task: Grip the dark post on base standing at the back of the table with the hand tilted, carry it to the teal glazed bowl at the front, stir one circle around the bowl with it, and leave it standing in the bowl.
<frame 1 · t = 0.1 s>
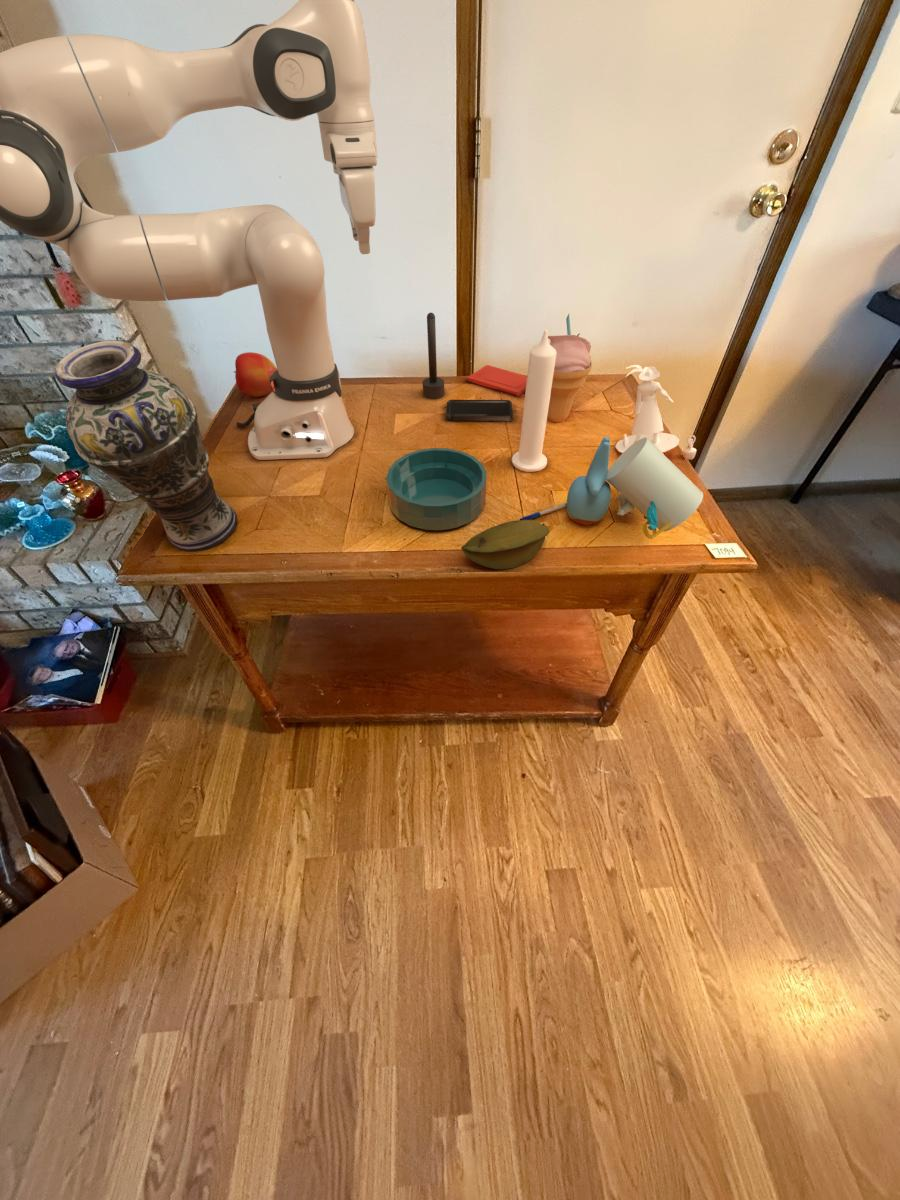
hand: (361, 246, 91), 32 cm above the table, tool pointing down, fingers open, 8 cm apart
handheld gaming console: (528, 387, 120), point 1 cm above the table
figurine: (654, 463, 102), on the table
candle: (529, 463, 100), on the table
bowl: (437, 502, 91), on the table
pale green cylinder: (618, 463, 82), point 10 cm above the table, touching toy
apple: (279, 377, 120), point 3 cm above the table
dark post on base: (433, 394, 120), on the table
fruit: (506, 556, 82), on the table
vase: (202, 527, 87), on the table
ice cream cone: (556, 418, 112), on the table
toy: (607, 439, 77), point 15 cm above the table, touching pale green cylinder
phone: (479, 413, 114), on the table
ballpoint pen: (544, 509, 88), point 1 cm above the table
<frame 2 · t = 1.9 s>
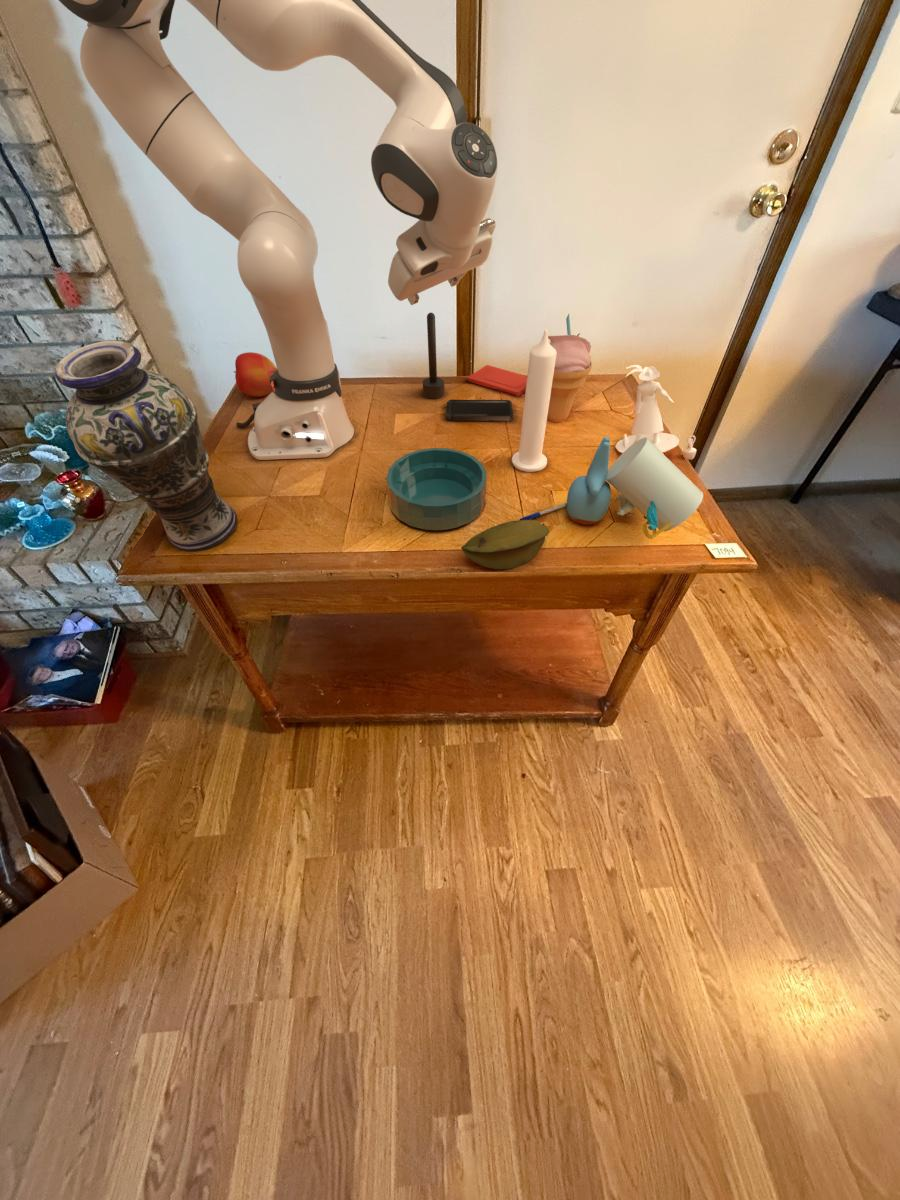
hand: (432, 291, 96), 24 cm above the table, tool tilted 40°, fingers open, 8 cm apart
nothing on the table moved.
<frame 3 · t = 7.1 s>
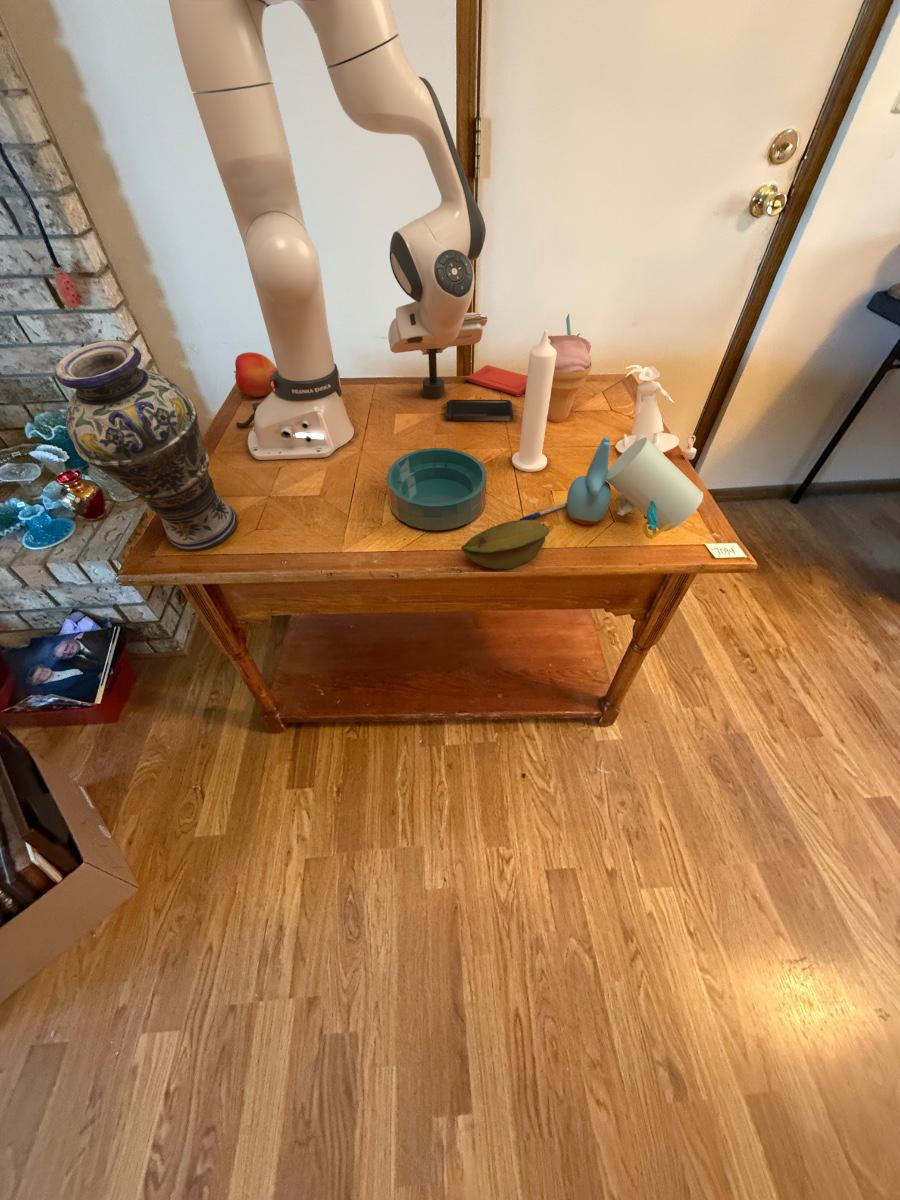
hand: (431, 350, 113), 10 cm above the table, tool tilted 45°, fingers closed on dark post on base
dark post on base: (433, 394, 120), on the table, touching gripper
everything else where it was.
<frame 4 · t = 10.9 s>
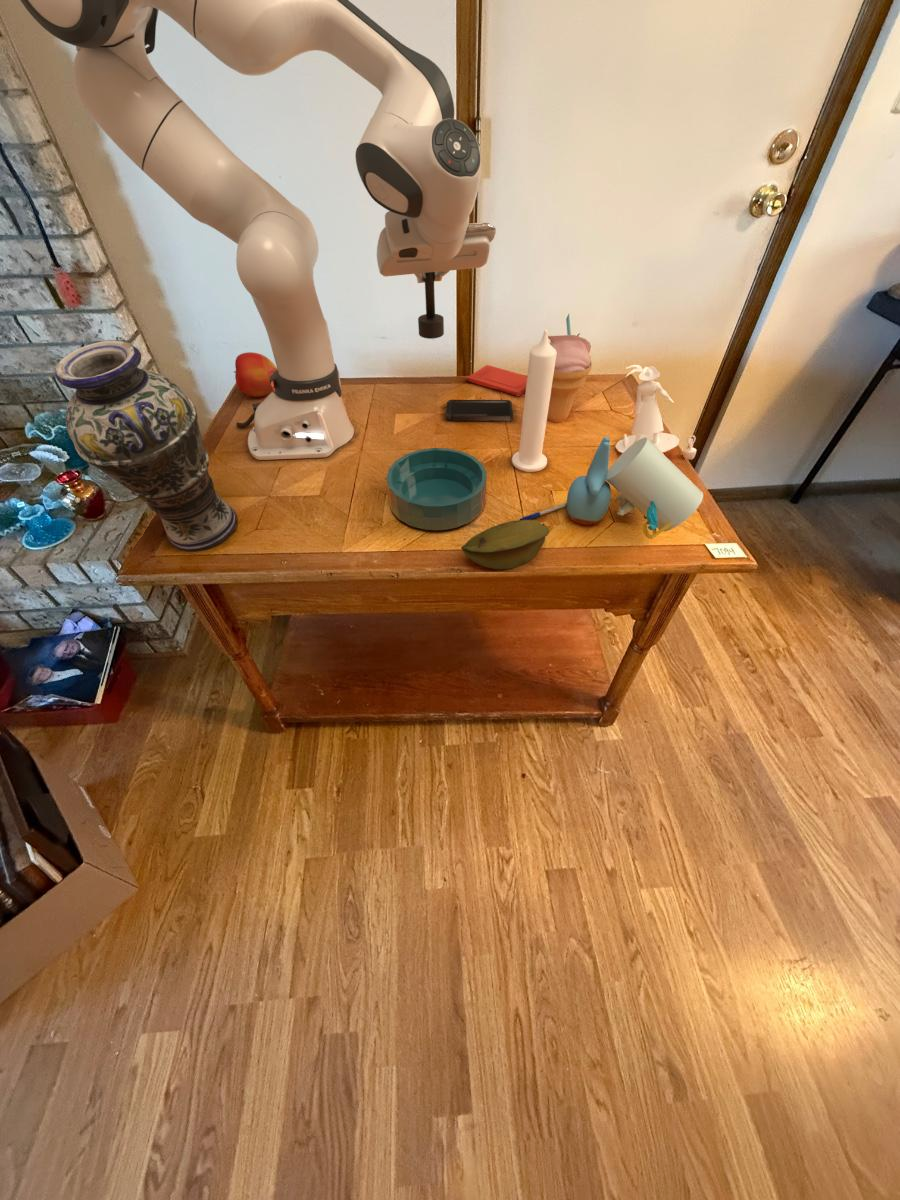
hand: (428, 278, 96), 26 cm above the table, tool tilted 45°, fingers closed on dark post on base
dark post on base: (431, 333, 103), point 16 cm above the table, touching gripper
everything else where it was.
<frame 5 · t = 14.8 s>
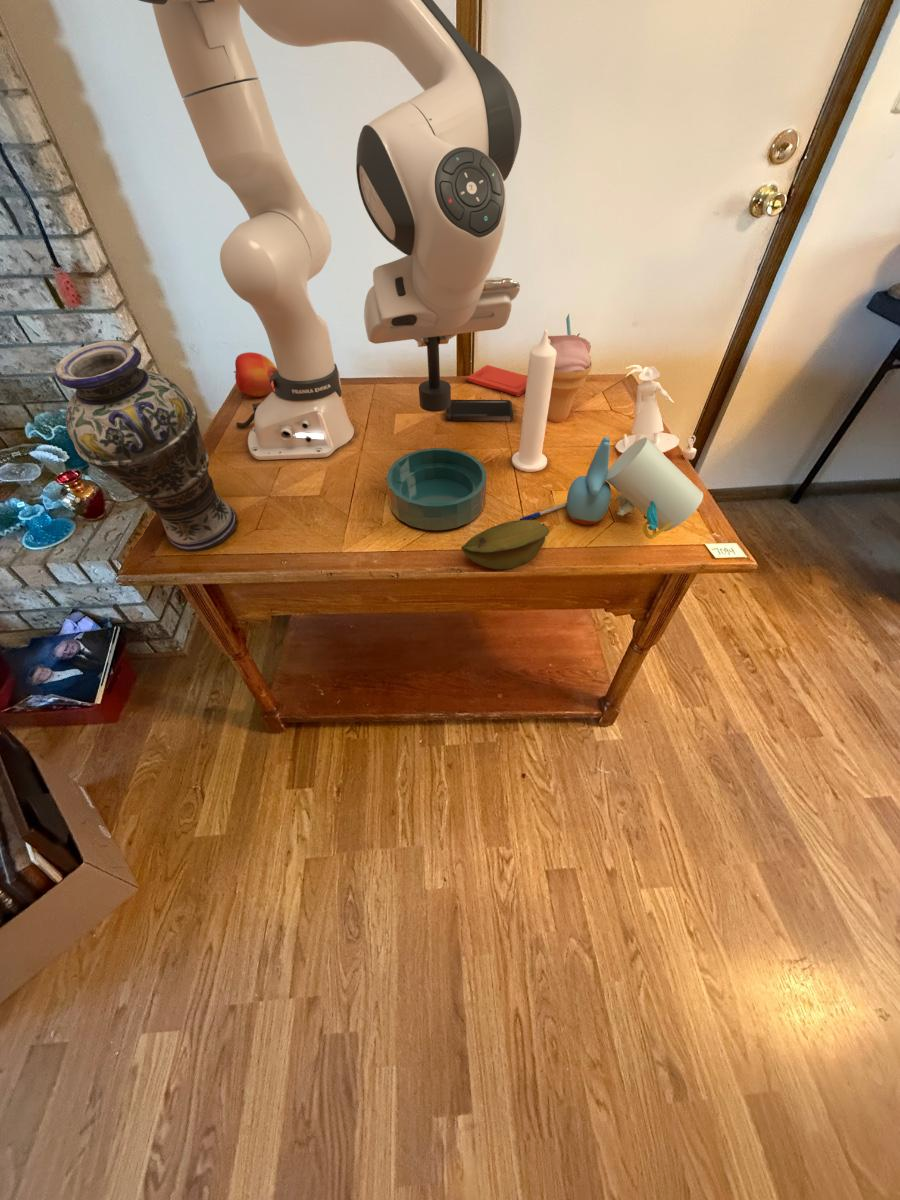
hand: (431, 340, 75), 26 cm above the table, tool tilted 45°, fingers closed on dark post on base
dark post on base: (435, 404, 82), point 17 cm above the table, touching gripper
everything else where it was.
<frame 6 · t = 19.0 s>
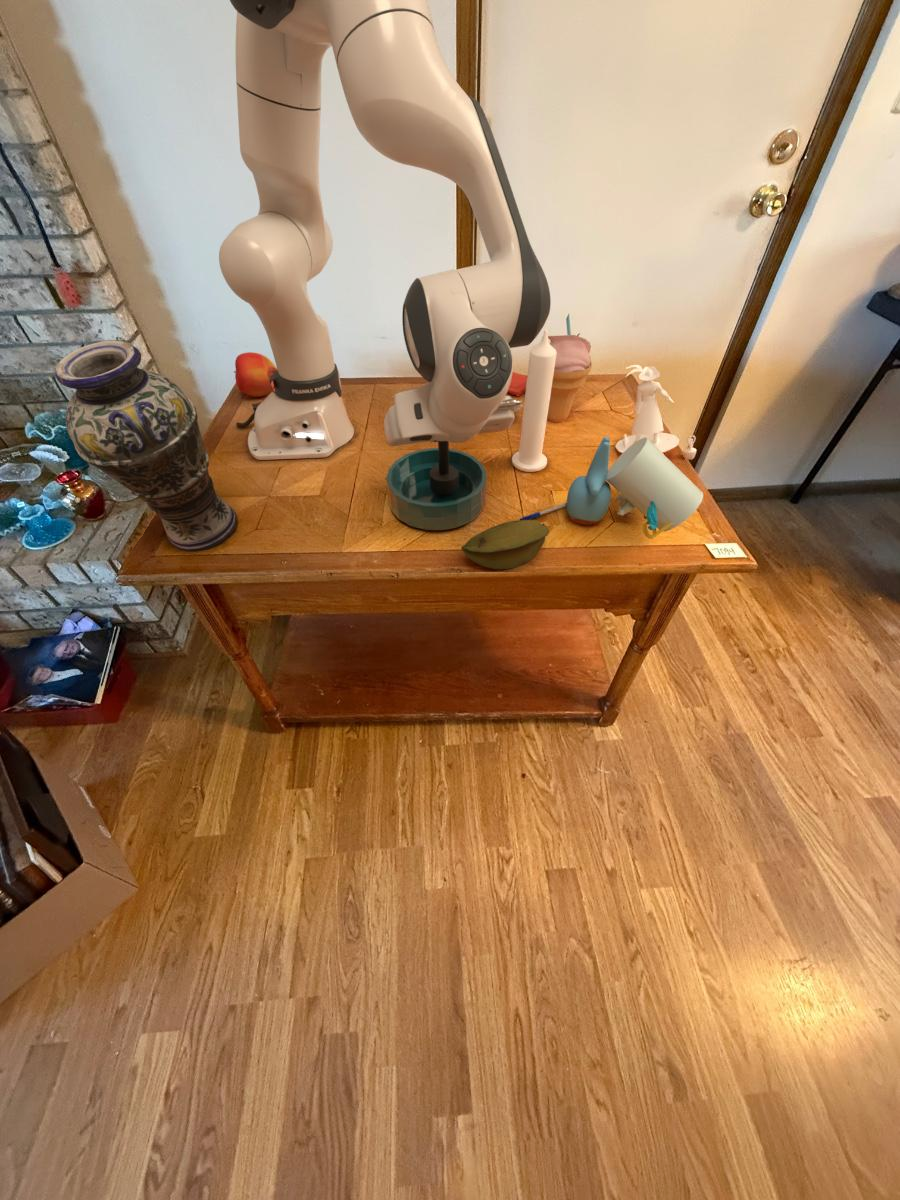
hand: (442, 436, 84), 12 cm above the table, tool tilted 45°, fingers closed on dark post on base
dark post on base: (444, 486, 91), point 2 cm above the table, touching gripper
everything else where it was.
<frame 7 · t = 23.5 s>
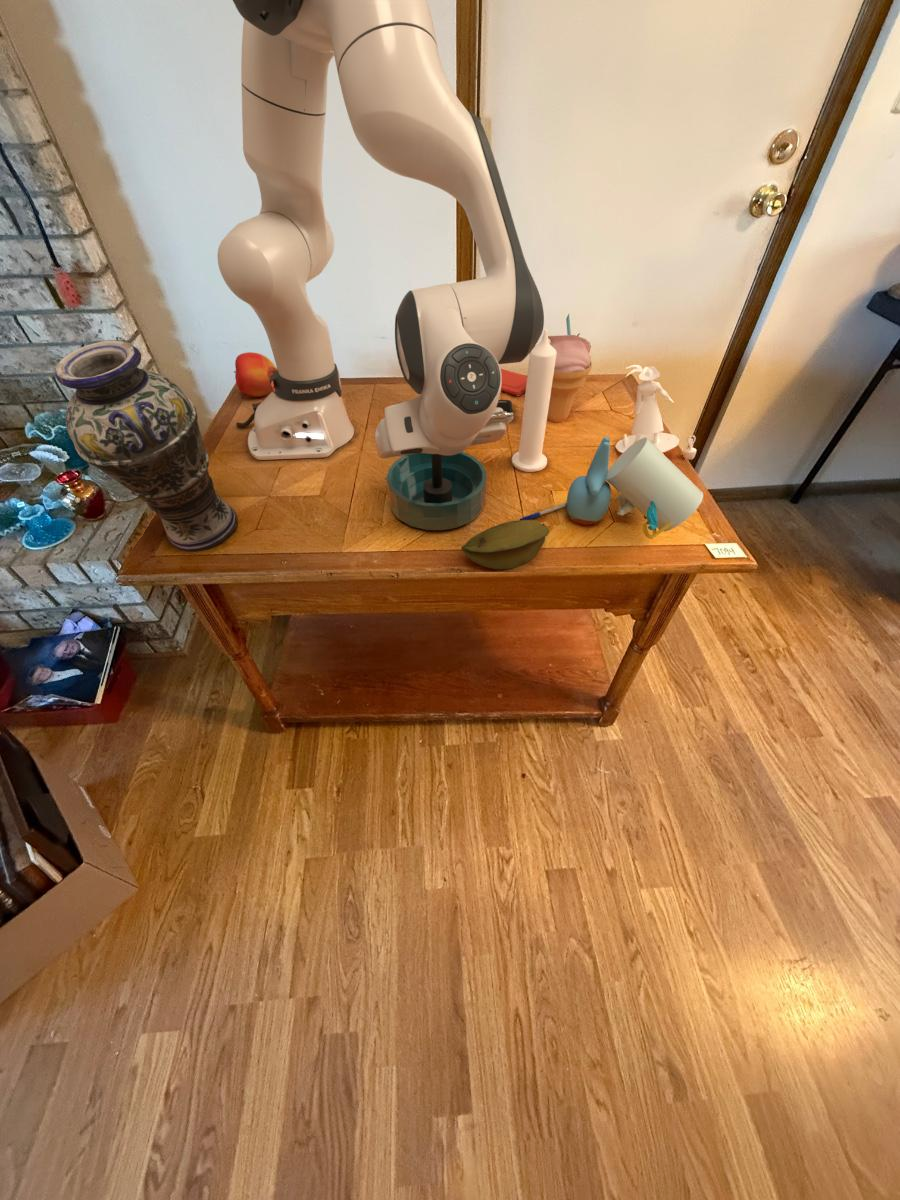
hand: (434, 447, 84), 11 cm above the table, tool tilted 45°, fingers open, 8 cm apart
dark post on base: (438, 499, 91), point 1 cm above the table, touching bowl
everything else where it was.
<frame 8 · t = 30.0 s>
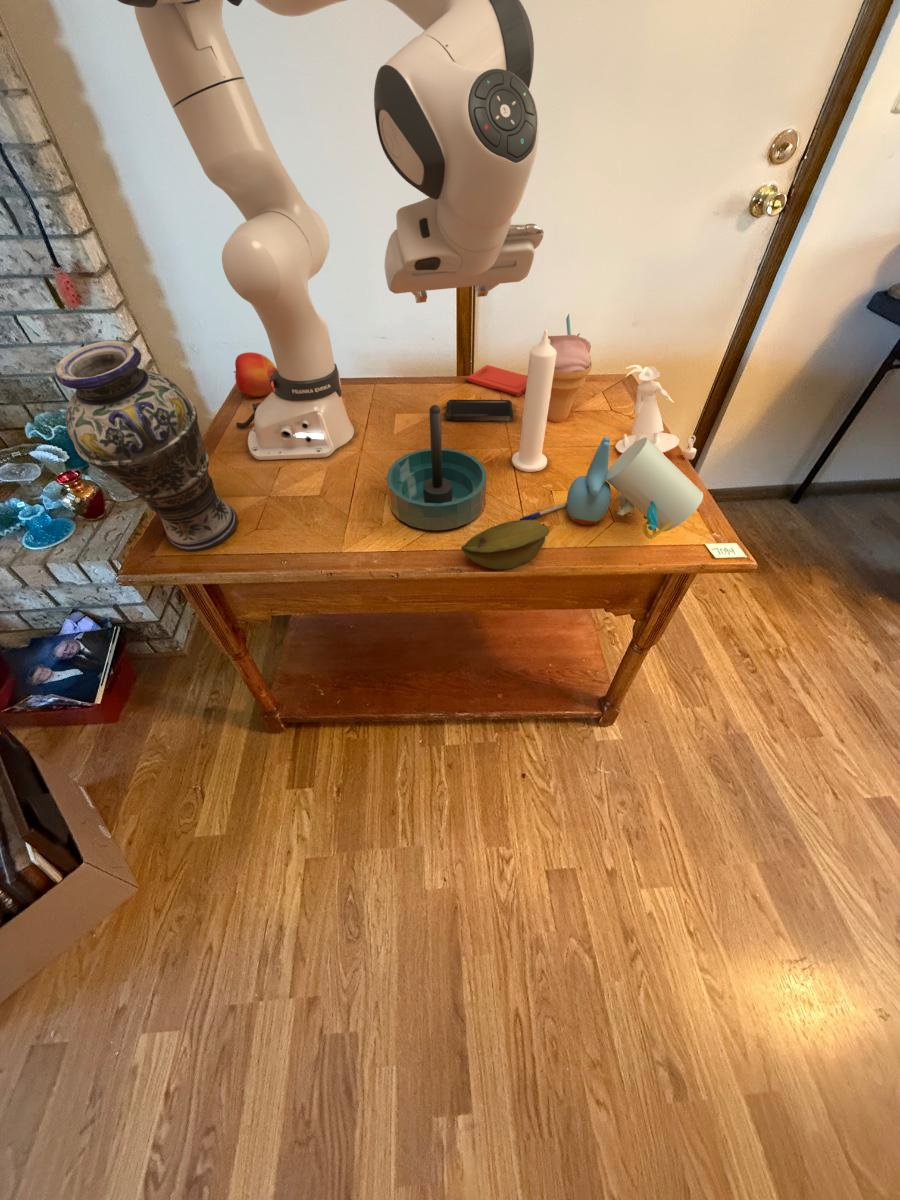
hand: (450, 294, 74), 31 cm above the table, tool tilted 45°, fingers open, 8 cm apart
nothing on the table moved.
at the end: dark post on base inside the target area in the bowl (0.1 cm from its centre), point 0.8 cm above the bowl's base; dark post on base moved 43.0 cm from its start; the gripper is holding nothing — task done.
